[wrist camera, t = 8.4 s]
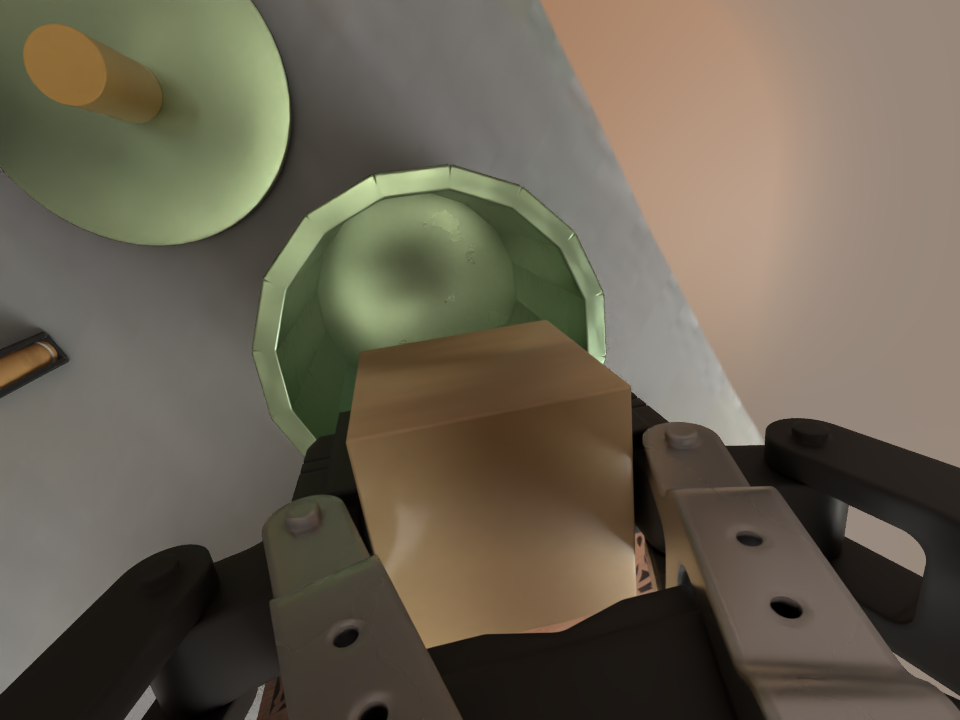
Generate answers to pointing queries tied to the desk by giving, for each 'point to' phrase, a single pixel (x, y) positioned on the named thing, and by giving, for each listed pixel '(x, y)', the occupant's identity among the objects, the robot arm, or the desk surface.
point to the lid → (142, 113)
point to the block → (495, 479)
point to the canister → (411, 283)
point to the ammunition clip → (28, 361)
